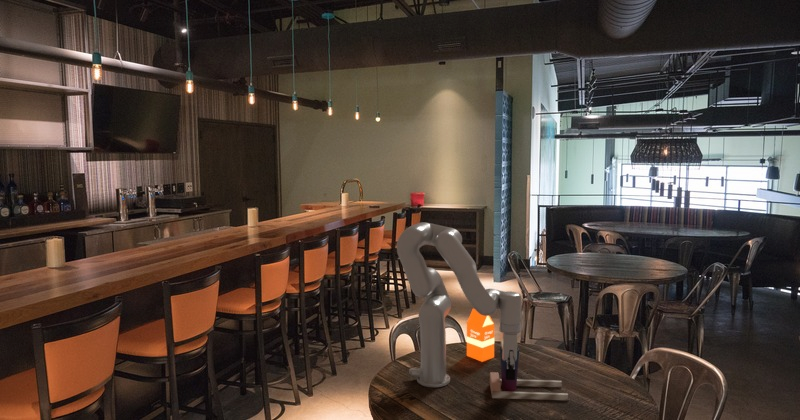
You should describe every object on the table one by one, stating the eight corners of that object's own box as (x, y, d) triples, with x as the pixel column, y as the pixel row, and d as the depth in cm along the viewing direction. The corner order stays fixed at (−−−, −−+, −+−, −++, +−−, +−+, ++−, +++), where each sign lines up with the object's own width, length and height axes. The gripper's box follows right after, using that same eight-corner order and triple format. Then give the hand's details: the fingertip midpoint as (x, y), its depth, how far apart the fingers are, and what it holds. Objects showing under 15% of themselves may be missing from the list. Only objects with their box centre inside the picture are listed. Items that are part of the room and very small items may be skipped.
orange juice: (478, 351, 224) (478, 306, 222) (494, 357, 217) (494, 311, 215) (466, 355, 219) (466, 310, 217) (482, 362, 212) (482, 314, 210)
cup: (496, 385, 188) (496, 346, 186) (512, 383, 190) (513, 343, 188) (505, 393, 182) (505, 352, 180) (522, 391, 184) (523, 350, 182)
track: (492, 397, 181) (492, 384, 180) (489, 383, 192) (489, 370, 192) (568, 400, 178) (568, 386, 178) (561, 385, 190) (561, 372, 189)
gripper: (497, 318, 192) (496, 365, 194) (501, 334, 175) (500, 385, 177) (517, 319, 192) (516, 366, 193) (524, 335, 174) (523, 386, 176)
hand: (509, 374), depth 185 cm, fingers closed on cup, 6 cm apart
